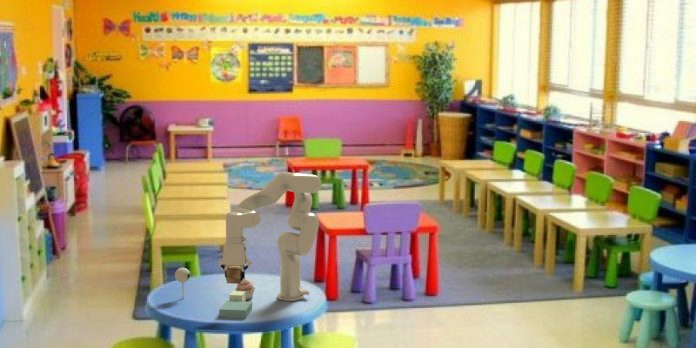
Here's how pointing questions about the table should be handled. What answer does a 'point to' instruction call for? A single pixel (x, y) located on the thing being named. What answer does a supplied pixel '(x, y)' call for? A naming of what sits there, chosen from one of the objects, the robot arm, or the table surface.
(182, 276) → the lollipop
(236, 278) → the walnut cube
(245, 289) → the cupcake
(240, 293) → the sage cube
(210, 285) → the table surface
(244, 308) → the base block
